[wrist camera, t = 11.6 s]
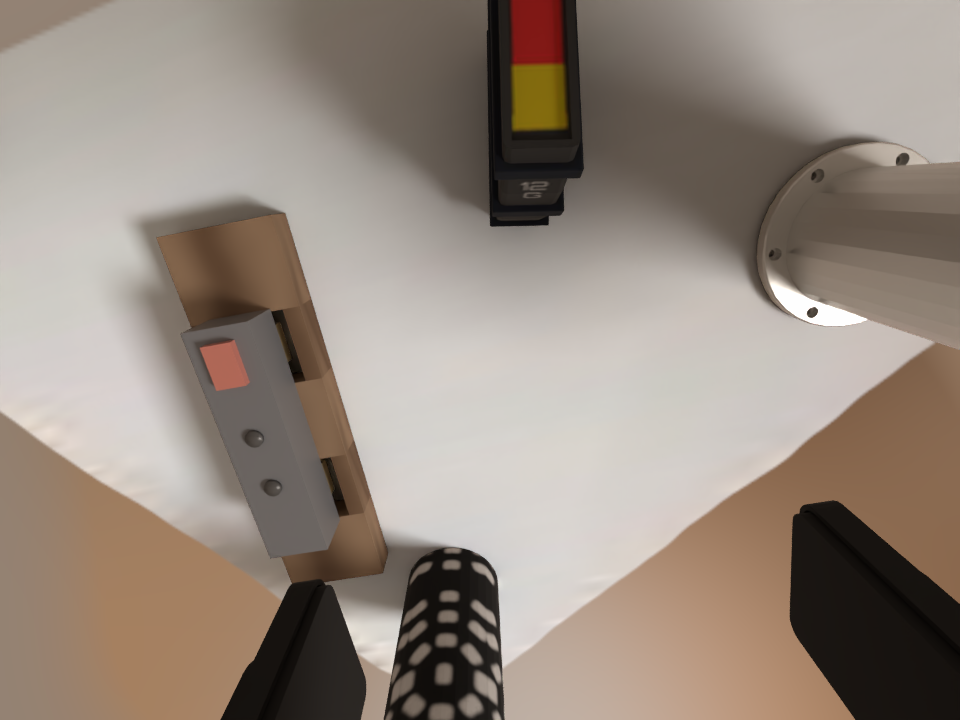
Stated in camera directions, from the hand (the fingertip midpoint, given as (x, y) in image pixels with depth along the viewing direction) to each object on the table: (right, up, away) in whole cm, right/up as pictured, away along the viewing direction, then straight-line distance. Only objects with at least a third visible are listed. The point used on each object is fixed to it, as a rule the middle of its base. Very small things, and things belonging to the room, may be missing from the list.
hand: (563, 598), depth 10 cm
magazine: (+1, +21, +23) cm, 31 cm away
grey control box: (-17, +1, +30) cm, 34 cm away
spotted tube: (-4, -16, +36) cm, 39 cm away
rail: (-17, +1, +30) cm, 34 cm away
